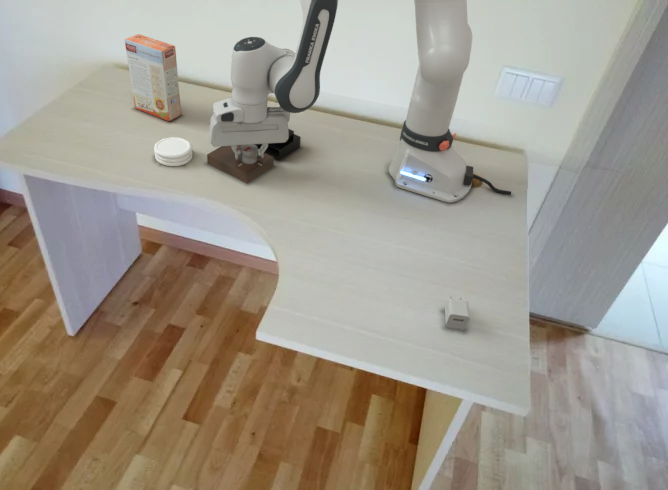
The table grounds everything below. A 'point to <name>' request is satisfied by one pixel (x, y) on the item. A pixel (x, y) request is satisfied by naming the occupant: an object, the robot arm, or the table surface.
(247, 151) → the dial
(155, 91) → the cracker box
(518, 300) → the table surface
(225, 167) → the dial panel
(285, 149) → the red push button box
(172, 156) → the white round disc stack
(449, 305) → the usb wall charger
